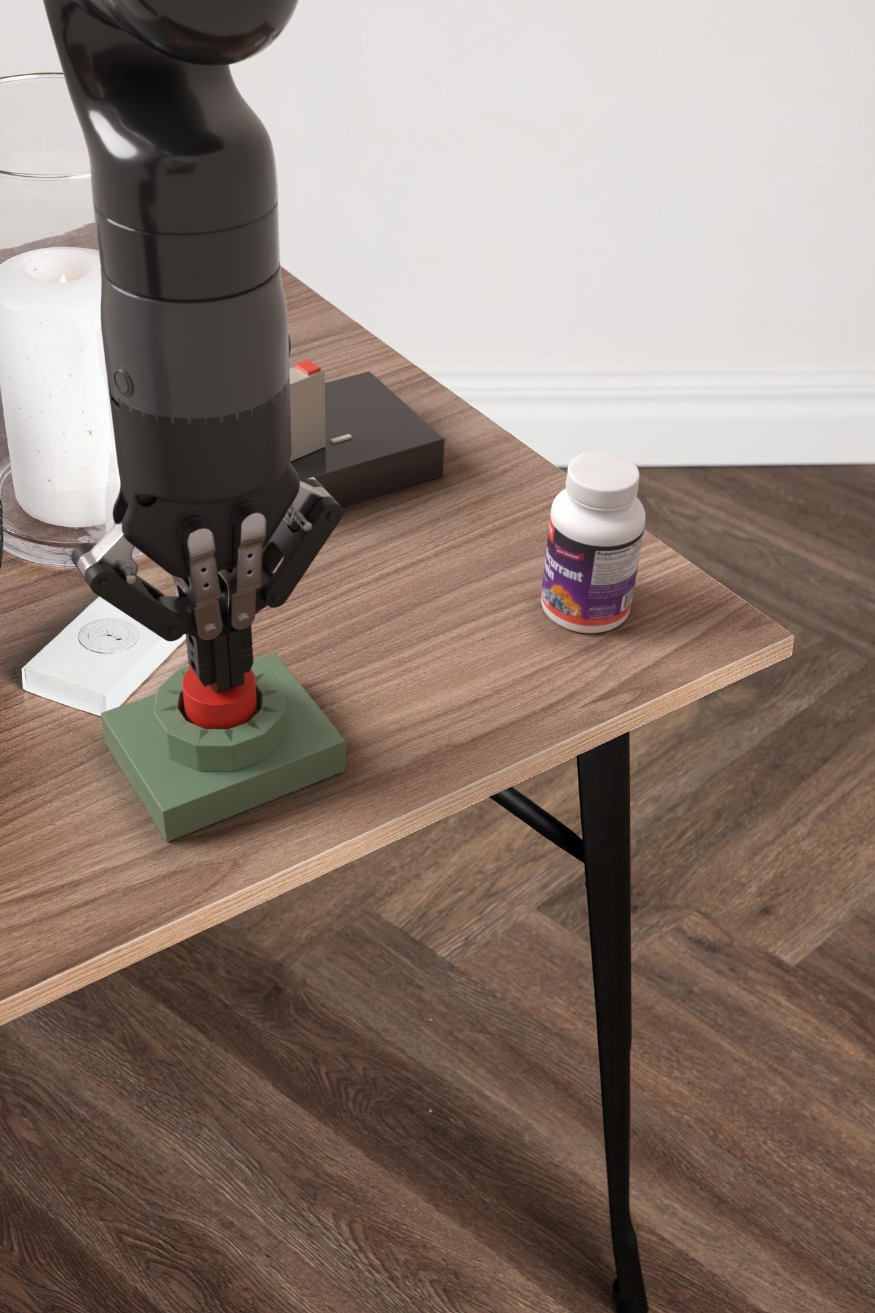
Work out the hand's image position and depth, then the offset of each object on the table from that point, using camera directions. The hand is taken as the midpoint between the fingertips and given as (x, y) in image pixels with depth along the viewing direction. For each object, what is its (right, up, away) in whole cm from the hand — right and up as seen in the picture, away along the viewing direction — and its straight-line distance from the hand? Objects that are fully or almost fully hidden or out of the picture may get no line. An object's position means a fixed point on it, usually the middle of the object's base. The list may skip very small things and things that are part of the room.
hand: (221, 679), depth 70 cm
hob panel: (+2, +14, +25) cm, 29 cm away
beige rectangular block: (+1, +14, +20) cm, 25 cm away
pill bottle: (+19, +4, +15) cm, 25 cm away
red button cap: (0, -1, +1) cm, 2 cm away
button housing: (0, -4, +4) cm, 6 cm away
